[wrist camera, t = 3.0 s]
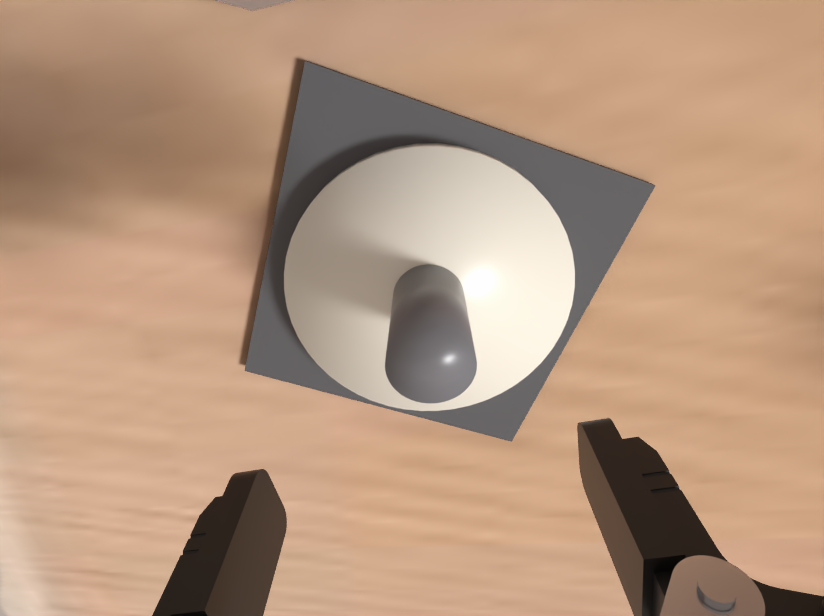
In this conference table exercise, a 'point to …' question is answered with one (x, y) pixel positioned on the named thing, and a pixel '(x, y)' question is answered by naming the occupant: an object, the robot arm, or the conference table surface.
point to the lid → (429, 277)
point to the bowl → (254, 3)
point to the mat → (415, 124)
